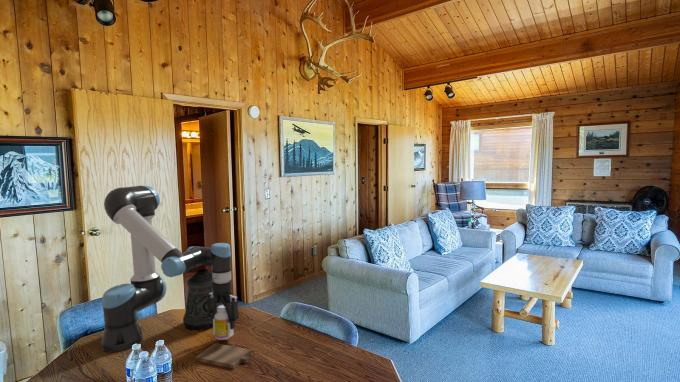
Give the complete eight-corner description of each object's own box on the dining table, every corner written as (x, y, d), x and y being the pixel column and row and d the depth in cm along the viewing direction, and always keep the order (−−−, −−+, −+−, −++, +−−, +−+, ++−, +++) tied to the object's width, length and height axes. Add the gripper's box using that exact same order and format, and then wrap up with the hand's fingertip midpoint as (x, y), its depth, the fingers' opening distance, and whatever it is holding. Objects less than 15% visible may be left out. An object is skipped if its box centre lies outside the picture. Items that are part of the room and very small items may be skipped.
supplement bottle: (226, 341, 150) (225, 311, 149) (212, 339, 151) (211, 309, 150) (234, 333, 157) (233, 304, 155) (220, 332, 158) (219, 303, 157)
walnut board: (196, 360, 139) (195, 357, 139) (215, 346, 149) (215, 343, 149) (239, 369, 132) (239, 365, 132) (256, 354, 142) (256, 350, 142)
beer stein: (178, 323, 172) (174, 270, 169) (217, 311, 185) (215, 262, 183) (191, 335, 159) (188, 278, 157) (233, 321, 173) (230, 269, 170)
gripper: (196, 281, 152) (198, 334, 154) (236, 286, 145) (237, 342, 147) (208, 275, 159) (210, 326, 161) (247, 280, 152) (248, 334, 154)
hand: (223, 334), depth 154 cm, fingers closed on supplement bottle, 7 cm apart
